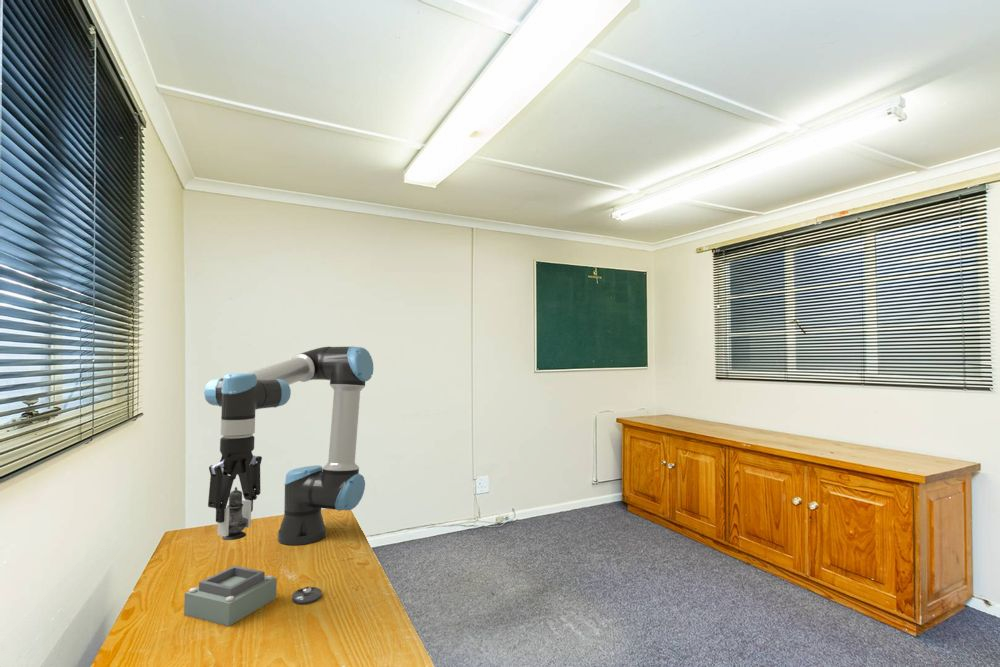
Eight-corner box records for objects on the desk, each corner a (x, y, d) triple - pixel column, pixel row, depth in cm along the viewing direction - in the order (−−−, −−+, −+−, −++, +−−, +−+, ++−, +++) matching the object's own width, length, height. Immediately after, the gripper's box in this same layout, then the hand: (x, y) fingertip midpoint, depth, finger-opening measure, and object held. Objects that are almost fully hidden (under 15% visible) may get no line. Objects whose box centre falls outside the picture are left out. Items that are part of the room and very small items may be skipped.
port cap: (305, 589, 129) (305, 580, 129) (327, 593, 127) (327, 585, 127) (285, 601, 123) (285, 592, 123) (308, 606, 120) (308, 597, 120)
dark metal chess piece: (236, 541, 117) (237, 490, 118) (214, 539, 118) (216, 489, 119) (253, 533, 123) (254, 484, 124) (232, 531, 124) (234, 483, 125)
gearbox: (227, 587, 130) (228, 560, 130) (276, 598, 124) (277, 569, 125) (176, 612, 117) (177, 582, 117) (228, 626, 111) (229, 594, 111)
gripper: (256, 429, 132) (253, 517, 131) (191, 440, 114) (187, 541, 113) (278, 431, 130) (275, 520, 128) (215, 442, 112) (211, 546, 111)
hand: (234, 530), depth 121 cm, fingers closed on dark metal chess piece, 6 cm apart
